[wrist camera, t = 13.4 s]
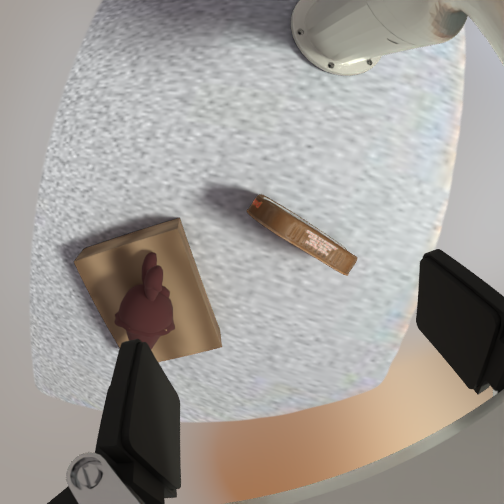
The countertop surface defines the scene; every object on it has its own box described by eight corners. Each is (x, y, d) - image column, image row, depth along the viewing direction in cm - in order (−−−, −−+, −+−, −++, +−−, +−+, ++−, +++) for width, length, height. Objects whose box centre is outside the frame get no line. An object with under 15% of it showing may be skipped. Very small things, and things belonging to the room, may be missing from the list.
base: (179, 217, 39) (177, 228, 35) (219, 329, 46) (221, 347, 43) (83, 248, 38) (73, 261, 34) (135, 350, 46) (131, 367, 42)
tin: (240, 204, 39) (250, 227, 32) (254, 183, 38) (268, 200, 31) (330, 258, 44) (355, 288, 37) (343, 240, 43) (371, 267, 36)
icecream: (171, 383, 36) (195, 276, 32) (112, 382, 32) (124, 267, 28) (160, 350, 42) (181, 251, 38) (109, 347, 38) (121, 242, 34)
